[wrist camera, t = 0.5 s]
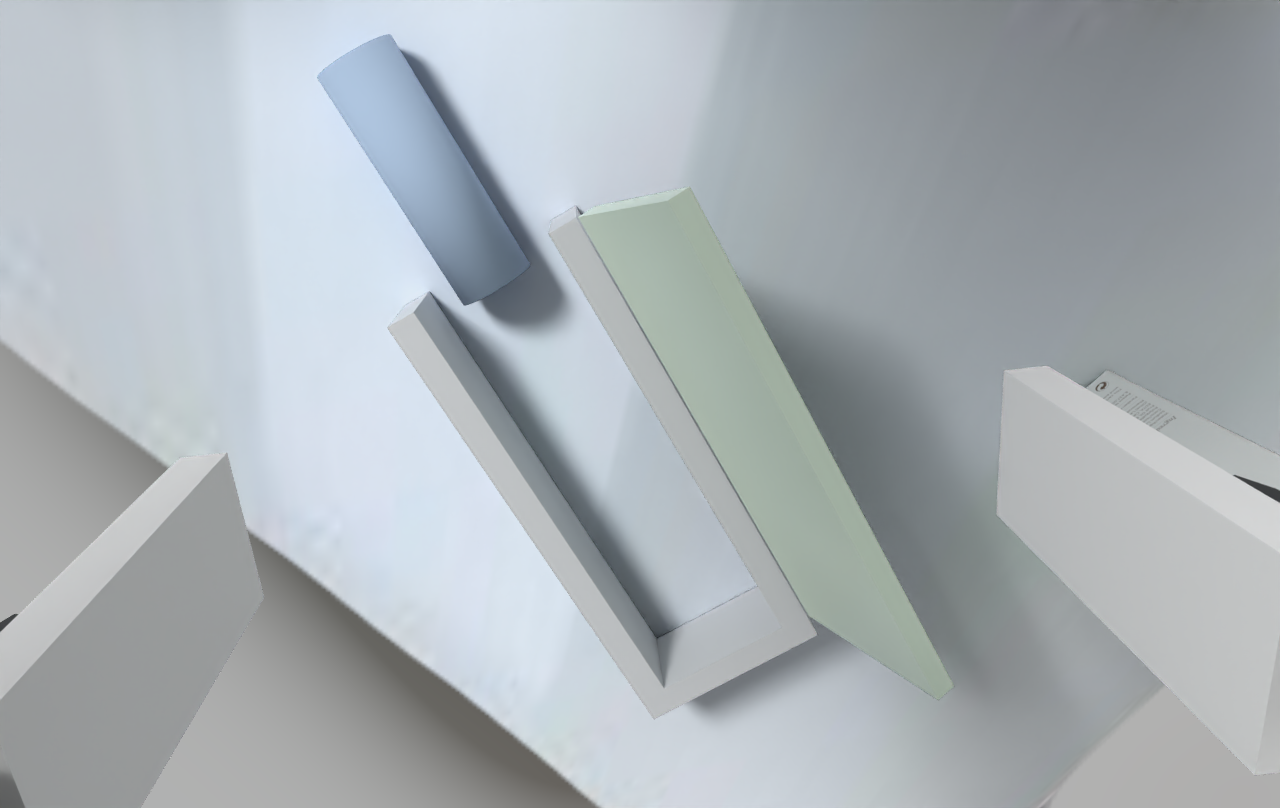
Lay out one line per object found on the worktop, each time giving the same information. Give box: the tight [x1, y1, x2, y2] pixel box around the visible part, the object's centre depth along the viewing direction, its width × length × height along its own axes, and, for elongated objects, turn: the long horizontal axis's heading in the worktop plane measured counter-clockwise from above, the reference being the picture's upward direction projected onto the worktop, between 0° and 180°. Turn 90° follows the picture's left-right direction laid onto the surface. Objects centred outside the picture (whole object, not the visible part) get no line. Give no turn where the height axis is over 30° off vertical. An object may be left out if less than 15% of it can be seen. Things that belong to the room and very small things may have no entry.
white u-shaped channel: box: [387, 206, 818, 719], centre depth 40 cm, size 21×8×4 cm, turn 29°
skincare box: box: [1086, 370, 1280, 491], centre depth 36 cm, size 8×7×16 cm
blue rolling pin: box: [317, 34, 530, 305], centre depth 36 cm, size 10×3×3 cm, turn 29°
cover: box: [578, 187, 954, 700], centre depth 33 cm, size 20×9×1 cm
